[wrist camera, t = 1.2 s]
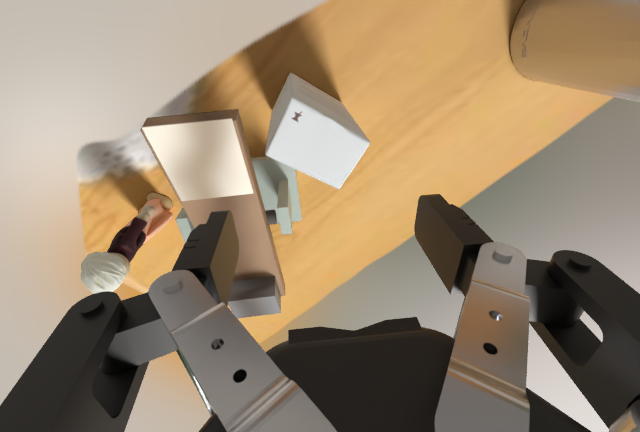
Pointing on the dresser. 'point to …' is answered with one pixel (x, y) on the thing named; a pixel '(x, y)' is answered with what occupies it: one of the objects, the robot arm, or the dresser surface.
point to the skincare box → (314, 133)
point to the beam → (222, 197)
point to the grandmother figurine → (125, 246)
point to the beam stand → (267, 194)
